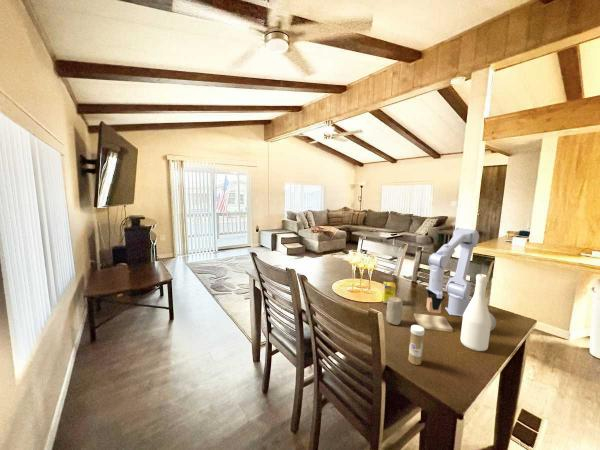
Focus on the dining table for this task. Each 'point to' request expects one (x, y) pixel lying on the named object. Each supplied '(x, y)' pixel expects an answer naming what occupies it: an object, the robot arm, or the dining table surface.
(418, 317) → the birch board
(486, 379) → the dining table surface
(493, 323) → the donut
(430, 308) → the peach cube
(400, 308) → the carving
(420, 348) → the sprinkles bottle
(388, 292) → the supplement box
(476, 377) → the dining table surface
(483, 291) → the wine bottle
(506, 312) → the dining table surface
